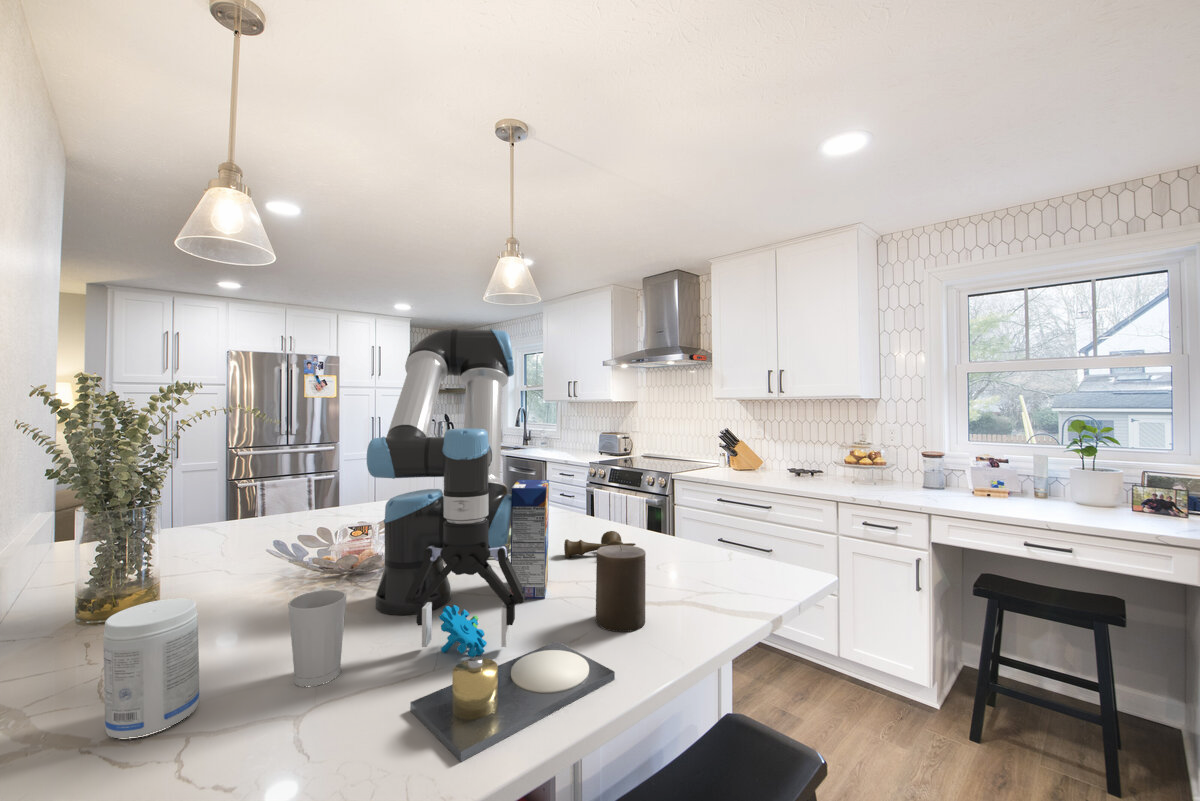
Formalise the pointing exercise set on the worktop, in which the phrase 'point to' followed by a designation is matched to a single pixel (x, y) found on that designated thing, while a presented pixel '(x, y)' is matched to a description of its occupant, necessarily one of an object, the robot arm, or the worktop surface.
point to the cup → (317, 635)
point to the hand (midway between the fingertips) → (466, 643)
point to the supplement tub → (150, 667)
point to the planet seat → (549, 671)
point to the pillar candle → (620, 587)
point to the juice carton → (530, 535)
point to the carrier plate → (507, 710)
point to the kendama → (593, 544)
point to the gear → (462, 631)
